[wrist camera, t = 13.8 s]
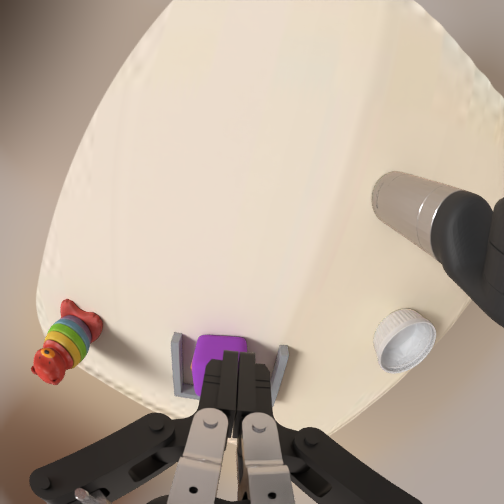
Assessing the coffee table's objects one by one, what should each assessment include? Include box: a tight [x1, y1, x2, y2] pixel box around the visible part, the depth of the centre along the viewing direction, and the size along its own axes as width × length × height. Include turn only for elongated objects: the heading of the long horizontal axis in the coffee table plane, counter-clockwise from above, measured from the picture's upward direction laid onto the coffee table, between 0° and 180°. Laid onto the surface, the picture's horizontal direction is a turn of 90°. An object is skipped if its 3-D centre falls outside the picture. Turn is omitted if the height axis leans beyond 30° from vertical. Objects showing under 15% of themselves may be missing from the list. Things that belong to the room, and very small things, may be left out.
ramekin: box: [373, 309, 436, 373], centre depth 48 cm, size 13×13×7 cm
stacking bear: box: [31, 299, 103, 385], centre depth 43 cm, size 11×10×18 cm
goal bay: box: [171, 332, 289, 407], centre depth 53 cm, size 22×16×3 cm
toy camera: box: [190, 335, 247, 396], centre depth 49 cm, size 11×14×10 cm
